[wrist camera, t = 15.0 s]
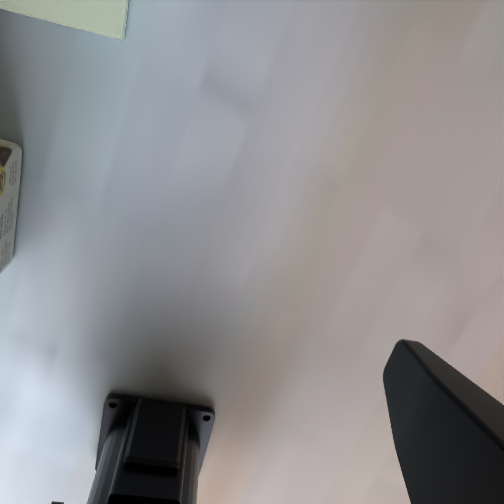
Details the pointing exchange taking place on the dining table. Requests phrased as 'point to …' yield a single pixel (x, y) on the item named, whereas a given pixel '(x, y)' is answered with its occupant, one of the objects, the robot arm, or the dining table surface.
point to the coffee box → (8, 198)
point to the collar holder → (77, 14)
